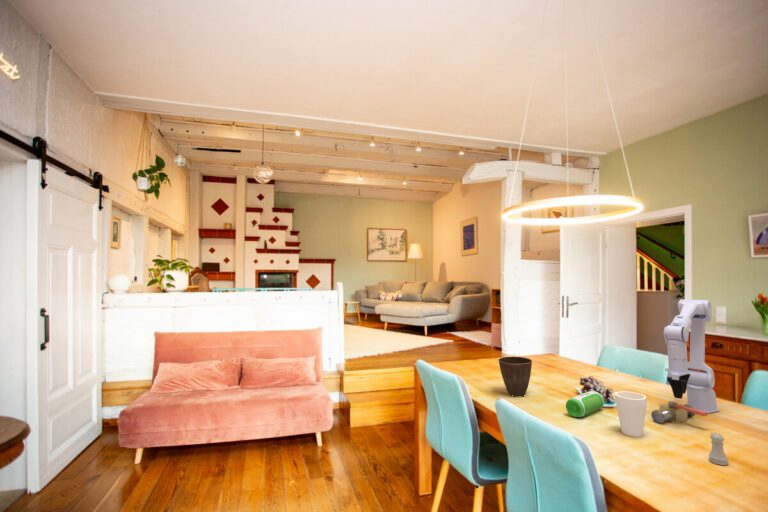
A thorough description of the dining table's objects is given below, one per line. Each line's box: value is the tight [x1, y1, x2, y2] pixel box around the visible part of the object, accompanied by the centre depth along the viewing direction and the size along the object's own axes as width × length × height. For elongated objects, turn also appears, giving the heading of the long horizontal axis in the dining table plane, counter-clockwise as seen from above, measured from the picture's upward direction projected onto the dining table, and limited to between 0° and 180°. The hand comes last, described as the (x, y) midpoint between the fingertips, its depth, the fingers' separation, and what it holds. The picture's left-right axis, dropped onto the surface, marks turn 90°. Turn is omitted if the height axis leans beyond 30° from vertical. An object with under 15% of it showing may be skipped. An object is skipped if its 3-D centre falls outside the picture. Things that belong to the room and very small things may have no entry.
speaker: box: [565, 390, 605, 418], centre depth 154 cm, size 18×7×8 cm, turn 124°
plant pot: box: [498, 356, 533, 397], centre depth 180 cm, size 15×15×16 cm
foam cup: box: [614, 390, 648, 438], centre depth 134 cm, size 10×9×13 cm
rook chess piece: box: [708, 432, 729, 466], centre depth 113 cm, size 4×4×8 cm
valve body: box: [650, 403, 696, 424], centre depth 145 cm, size 17×6×5 cm, turn 109°
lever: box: [667, 401, 708, 417], centre depth 141 cm, size 12×3×1 cm, turn 19°
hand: (680, 395), depth 141 cm, fingers open, 7 cm apart
